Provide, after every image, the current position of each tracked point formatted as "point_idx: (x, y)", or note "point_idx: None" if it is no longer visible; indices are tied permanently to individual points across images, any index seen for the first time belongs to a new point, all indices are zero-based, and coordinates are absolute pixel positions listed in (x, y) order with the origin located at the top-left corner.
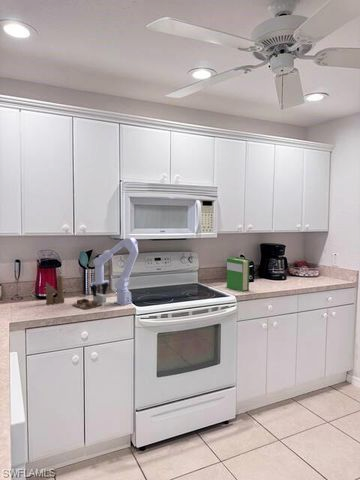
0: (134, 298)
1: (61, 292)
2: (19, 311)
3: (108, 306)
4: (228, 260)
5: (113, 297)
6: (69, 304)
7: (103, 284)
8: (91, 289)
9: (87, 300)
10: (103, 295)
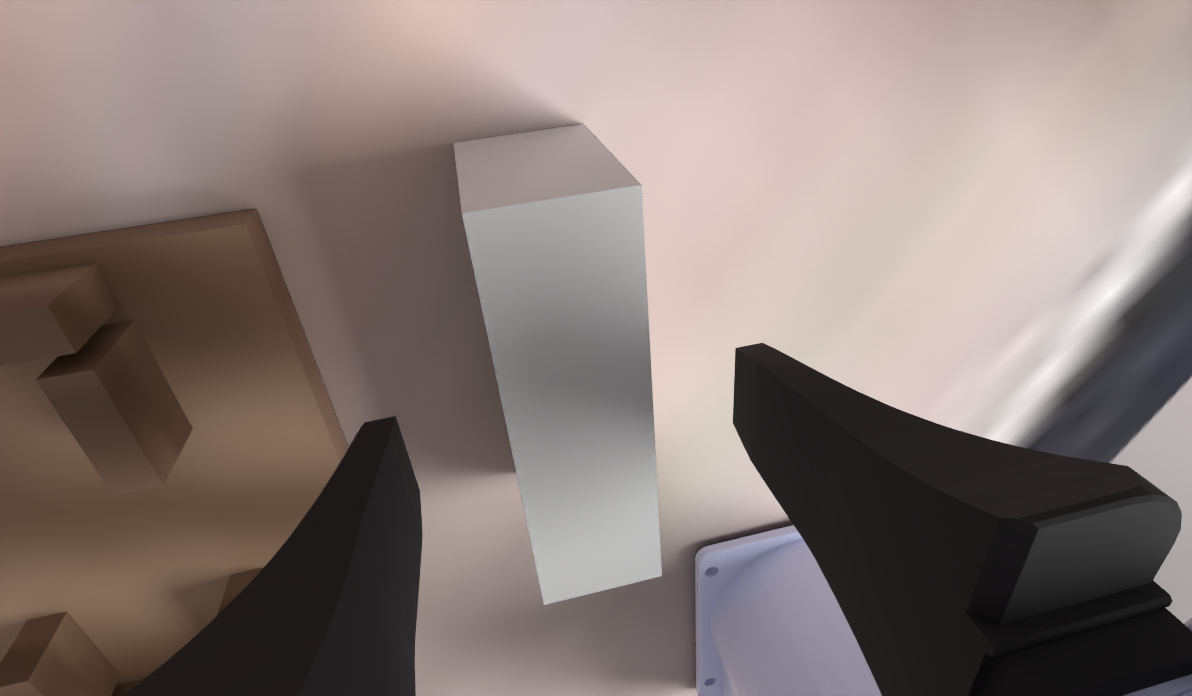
0: (1104, 459)
1: None
2: None
3: (495, 667)
4: None
5: (1017, 163)
6: None
7: (956, 643)
8: (232, 611)
9: (117, 479)
10: (602, 566)
